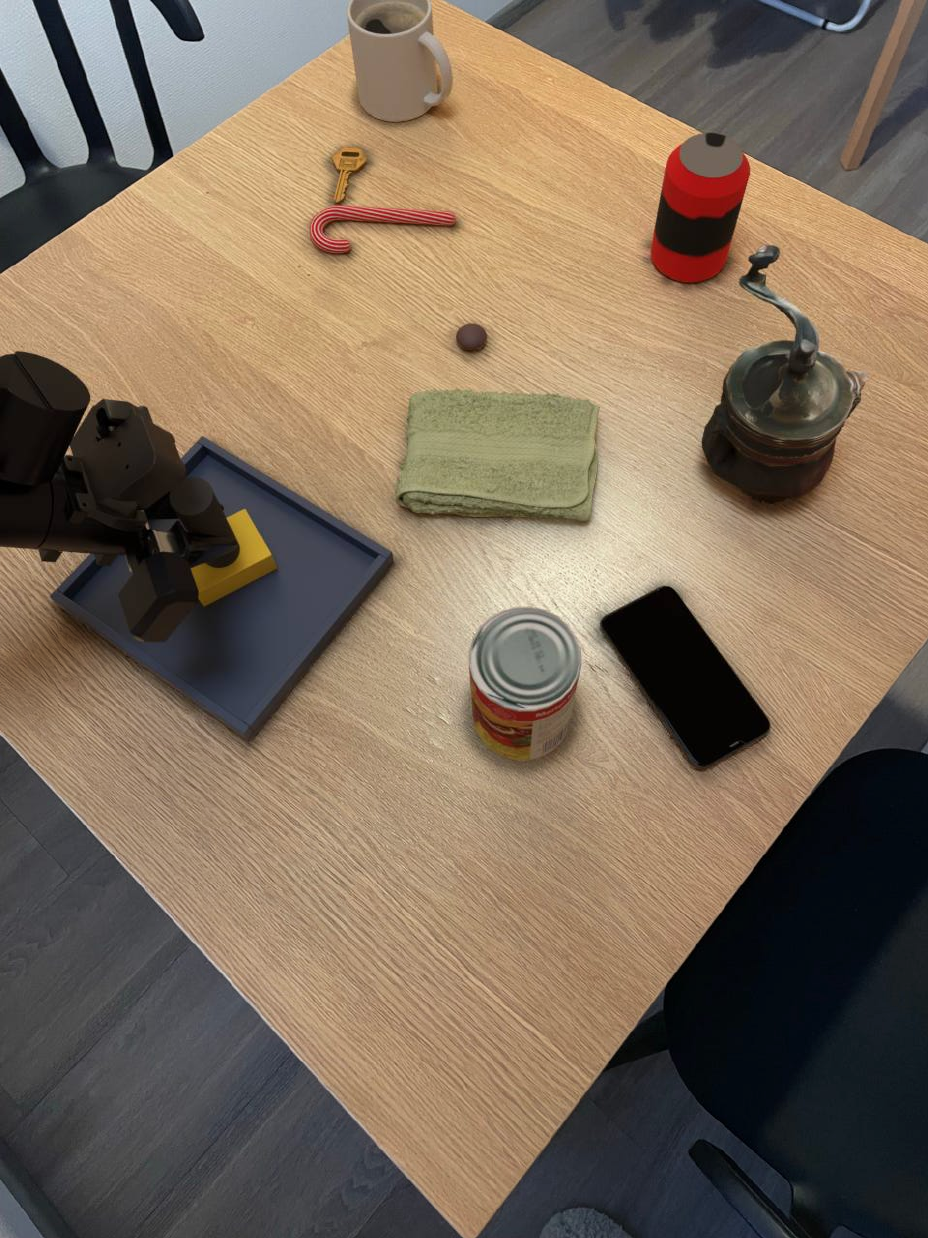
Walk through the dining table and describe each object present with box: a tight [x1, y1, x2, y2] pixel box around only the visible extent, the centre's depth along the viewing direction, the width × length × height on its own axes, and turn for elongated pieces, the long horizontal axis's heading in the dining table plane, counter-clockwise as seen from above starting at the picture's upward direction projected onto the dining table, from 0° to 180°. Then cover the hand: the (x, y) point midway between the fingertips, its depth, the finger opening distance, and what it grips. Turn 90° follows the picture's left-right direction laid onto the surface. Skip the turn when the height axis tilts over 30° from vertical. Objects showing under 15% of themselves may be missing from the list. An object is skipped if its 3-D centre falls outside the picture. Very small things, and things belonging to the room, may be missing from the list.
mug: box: [346, 0, 454, 123], centre depth 105 cm, size 11×10×10 cm
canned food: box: [468, 606, 582, 762], centre depth 73 cm, size 8×8×12 cm
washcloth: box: [395, 388, 601, 523], centre depth 87 cm, size 13×18×3 cm
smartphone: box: [599, 585, 772, 771], centre depth 79 cm, size 7×1×15 cm
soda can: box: [650, 132, 751, 283], centre depth 93 cm, size 8×8×12 cm
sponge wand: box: [170, 477, 277, 606], centre depth 78 cm, size 7×5×13 cm
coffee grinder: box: [701, 244, 868, 506], centre depth 80 cm, size 13×15×18 cm
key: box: [331, 146, 368, 205], centre depth 104 cm, size 4×8×1 cm, turn 173°
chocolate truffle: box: [455, 322, 488, 351], centre depth 94 cm, size 3×3×2 cm
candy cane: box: [308, 204, 457, 254], centre depth 100 cm, size 6×15×2 cm, turn 84°
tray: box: [49, 435, 395, 743], centre depth 83 cm, size 20×22×2 cm
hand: (228, 528), depth 78 cm, fingers closed on sponge wand, 3 cm apart
